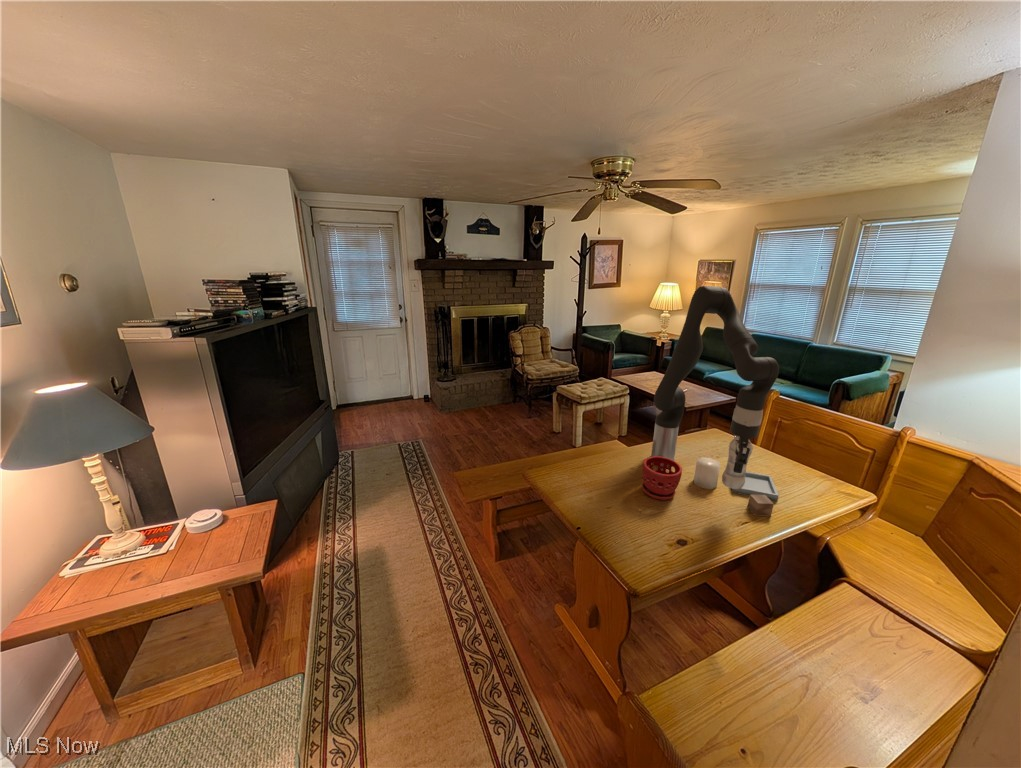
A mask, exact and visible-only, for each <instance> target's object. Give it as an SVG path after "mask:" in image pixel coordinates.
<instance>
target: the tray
mask: <svg viewBox="0 0 1021 768" xmlns="http://www.w3.org/2000/svg"><path fill="white" fill-rule="evenodd" d="M731 492H732V494H733V493H734V494H737V495H738V494H739V495H743V496H744V495H745V496H748V497H750V494H751V495H766V496H767V497H768V498H769V499H770V500H771V501H772V502H773V501H774V502H778V501H779V497H780V496H779V492H778V490H777V488H776V485H775V483H774V481H773V478H772V476H771V475H768V474H763V473H758V472H757V473H755V472H751V471H746V473H745V484H744V486H743V487H742V488H740V489H732V488H731Z"/></svg>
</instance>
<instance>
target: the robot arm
mask: <svg viewBox="0 0 1021 768" xmlns="http://www.w3.org/2000/svg"><path fill="white" fill-rule="evenodd" d="M705 314H710V315H711V314H713V315H715V314H716V315H717V316H719V318H720V319H721V321H723V329H722V337H723V340H724V343H725V345H726V347H727V348H728V349H729V351H730V352H731V354H732V357H733V361H734V365H735V370H736V373H737V375H738V376H739V378H740V379H741V380H743V381H746V382H751V383H750V384H748V385H746V386H743V387H740V389H739V391H738V395H737V400H736V405H735V408H734V410H733V413H732V414H733V415H732V419H731V425H730V429H729V431H730V433H731V434H733V435H734V436H733V439H734V438H736V437H737V436H739V437H740V438H739V440H735V445H736V449H735V454H736V459H735V465H734V469H733V471H734V472H735V473H742V468H743V464H745V465H746V463H747V458H748V455H749V451H750V448H749V447H750V442H751V441H750V442H748V441H749V440H751V439H756V438H757V437H758V436H759V432H760V427H761V424H762V420H763V417H764V415H763V414H764V413H763V412H764V406H765V402H766V399H767V396H768V394H769V393H770V391H771V389H772V387H773V385H774V384H775V382H776V381H777V379H778V376H779V374H780V367H779V362H778V361H777V360H776V359H775V358H773V357H770V356H760V357H758V356H756V357H754V355H756V354H757V353H758V350H759V345H758V344H757V342H756V341H755V338H753V336H752V335H751V333H750V332H749V330H748V329H747V327H746V326H745V324H744V323H743V320H742V318H741V315H740V313H739V311H738V308H737V305H736V304H735V300H734V298H733V296H732V293H731V292H730V291H729V290H728V288H725V287H722V286H715V285H714V286H713V285H712V286H711V285H701V286H699V287H698V288H696V290H695V291H694V293H693V295H692V297H691V299H690V303H689V306H688V310H687V314H686V317H685V321H684V324H683V327H682V329H681V331H680V335H679V337H678V340H677V342H676V345H675V347H674V349H673V352H672V355H671V358H670V360H669V363H668V365H667V368H666V371H665V373H664V375H663V376H662V379H661V381H660V383H659V384H658V386H657V388H656V390H655V392H654V397H653V403H654V406H655V408H656V409H657V410H658V411H660V412H659V413H658V414H657V415H656V417H655V423H654V432H653V439H652V445H651V446H652V447H651V454H650V457H653V456H660V457H665V458H669V459H671V460H673V461H675V457H676V451H677V450H676V449H677V443H678V434H679V427H680V424H681V421H682V419H683V417H684V416H683V415H684V413H685V412H684V411H685V407H686V392H684V389H682V388H681V387H680V386H679V385H680V384H681V383H682V381H683V380H684V379H686V377H687V376H688V375H689V374H690V373H691V372H692V371H693V370H694V368H695V367H696V366H697V364H698V362H699V361H700V357H701V355H702V352H703V350H704V343H703V337H702V334H701V324H702V321H703V319H704V317H705ZM738 443H739V445H738V448H739V452H738V451H737V444H738ZM747 446H748V448H747ZM740 458H743V459H740ZM747 464H748V463H747ZM660 465H661V466H664V464H663V463H661V464H660ZM667 467H669V465H667Z"/></svg>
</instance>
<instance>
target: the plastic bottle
mask: <svg viewBox="0 0 1021 768" xmlns="http://www.w3.org/2000/svg"><path fill="white" fill-rule="evenodd" d="M739 438H740V437H739V436H737V437H736V438H734V437H733V439H732V440H731V441H730V442H729V445H728V457H727V462H726V466H725V469H724V471H723V473H722V476H721V482H722V484H723V485H724V486H725V487H727V488H729V489H731V490H732V489H740V488H742V487H743V486H744V484H745V473H746V472H747V465H748V463H749V460H750V457H751V455H752V452H753V450H754V446H753V444H752V442H751V439H749V441H748V442H750V447H749V448H750V451H749V455H748V458H747V463H746V465H745V464H743V468H742V473H735V472H734V471H733V469H734V465H735V459H736V454H735V449H736V445H735V440H739ZM738 445H739V443H738V444H737V451H738V452H739V448H738ZM747 448H748V446H747ZM740 459H743V458H740Z"/></svg>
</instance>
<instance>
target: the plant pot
mask: <svg viewBox="0 0 1021 768" xmlns="http://www.w3.org/2000/svg"><path fill="white" fill-rule="evenodd" d="M661 463H663V464H664V466H663V465H660V464H661ZM667 465H669V466H667ZM654 467H657V469H656V470H655V469H653V468H654ZM672 467H673V468H674V471H673V470H672ZM667 470H668V471H667ZM682 474H683V468H682V467H681V465H680V464H679V463H678V462H677V461H675V460H674V461H673V460H671V459H669V458H665V457H660V456H653V457H651V456H649V457H647V458H645V459H644V461H643V463H642V475H641V476H642V481H643V482H642V485H641V488H642V491H643V493H645V494H646V495H647V496H649V497H650V498H653V499H656V500H662V501H663V500H665V501H666V500H667V501H668V500H670V499H672V498H674V497H675V495H676V489H677V488H678V487H679V484H680V481H681V479H682Z"/></svg>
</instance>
